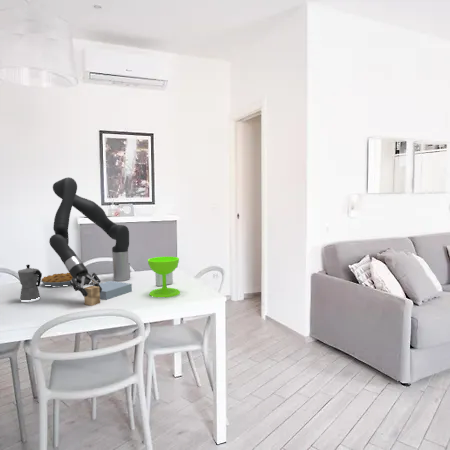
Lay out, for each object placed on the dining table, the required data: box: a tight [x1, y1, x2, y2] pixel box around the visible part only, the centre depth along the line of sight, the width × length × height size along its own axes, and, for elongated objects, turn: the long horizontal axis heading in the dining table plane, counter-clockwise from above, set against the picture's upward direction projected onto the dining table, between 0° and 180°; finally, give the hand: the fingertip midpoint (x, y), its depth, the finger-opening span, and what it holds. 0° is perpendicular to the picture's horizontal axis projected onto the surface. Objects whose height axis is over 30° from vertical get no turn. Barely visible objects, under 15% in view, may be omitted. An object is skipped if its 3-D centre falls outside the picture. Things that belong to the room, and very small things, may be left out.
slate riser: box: [99, 280, 133, 300], centre depth 206 cm, size 18×16×4 cm
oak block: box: [83, 285, 101, 307], centre depth 187 cm, size 5×5×8 cm
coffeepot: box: [17, 264, 43, 300], centre depth 195 cm, size 15×9×18 cm, turn 66°
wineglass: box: [147, 256, 181, 298], centre depth 203 cm, size 16×16×18 cm
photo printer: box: [154, 272, 174, 287], centre depth 222 cm, size 10×4×12 cm, turn 134°
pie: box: [40, 272, 73, 286], centre depth 231 cm, size 22×22×5 cm
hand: (93, 293), depth 187 cm, fingers open, 8 cm apart
